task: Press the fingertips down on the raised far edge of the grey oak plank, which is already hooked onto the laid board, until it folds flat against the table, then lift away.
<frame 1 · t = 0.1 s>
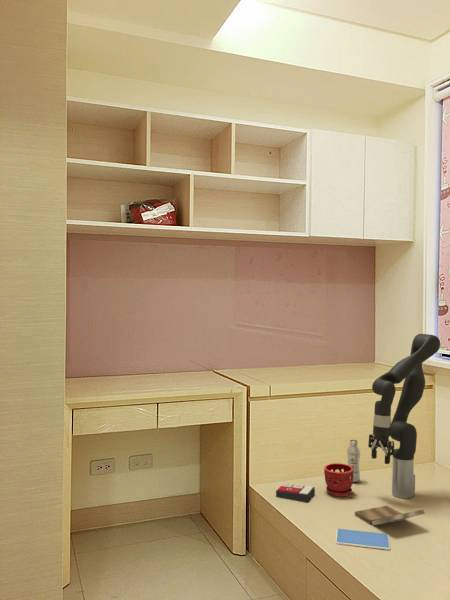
hand: (380, 461, 238), 17 cm above the table, tool pointing down, fingers open, 8 cm apart
plastic bottle: (353, 481, 261), on the table
laid board: (379, 516, 220), on the table
plant pot: (338, 493, 245), on the table
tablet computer: (362, 541, 199), on the table
multicoloured piece: (295, 496, 242), on the table
plank: (397, 517, 210), point 4 cm above the table, hinge at 30.0°
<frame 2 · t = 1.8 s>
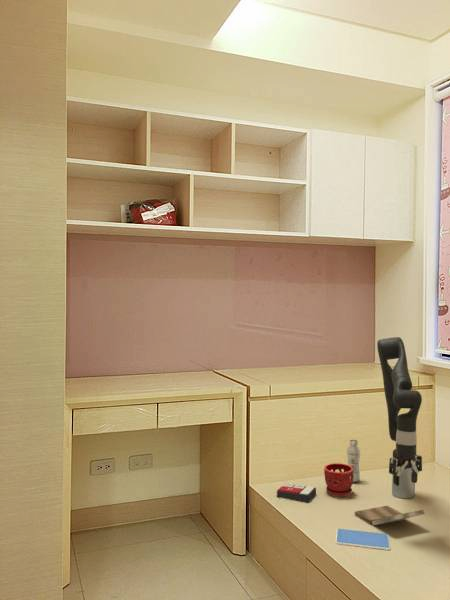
hand: (405, 483, 206), 19 cm above the table, tool pointing down, fingers open, 8 cm apart
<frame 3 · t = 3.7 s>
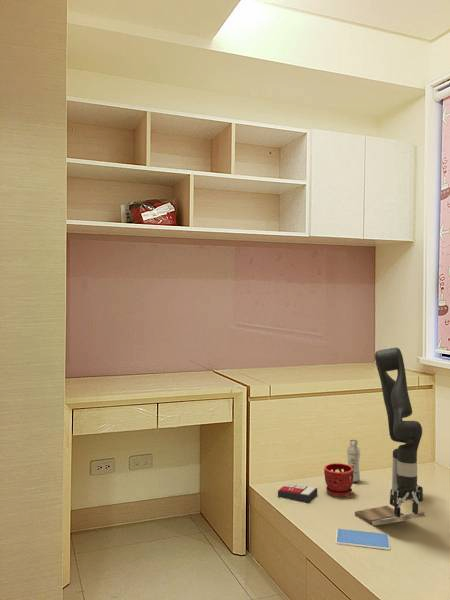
hand: (406, 514, 205), 7 cm above the table, tool pointing down
plank: (398, 518, 210), point 3 cm above the table, hinge at 25.9°, touching gripper
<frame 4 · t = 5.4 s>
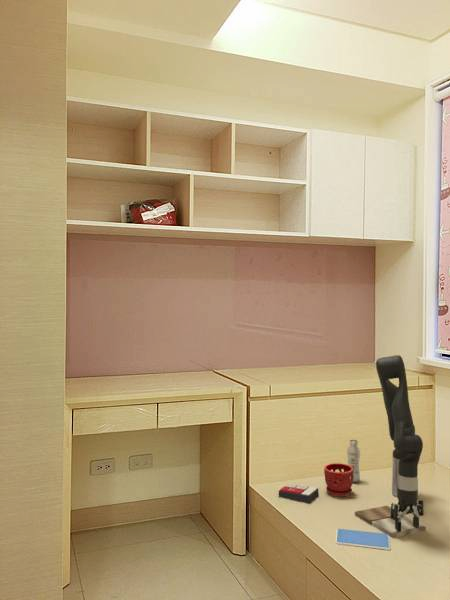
hand: (407, 529, 205), 2 cm above the table, tool pointing down, fingers open, 8 cm apart
plank: (398, 525, 209), point 1 cm above the table, hinge at -0.3°, touching gripper
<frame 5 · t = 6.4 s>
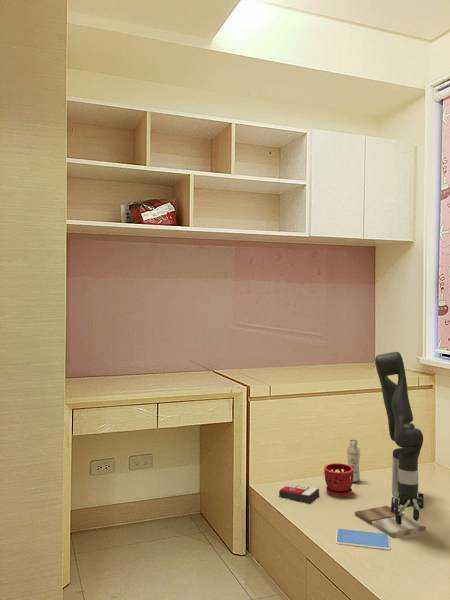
hand: (407, 522, 206), 4 cm above the table, tool pointing down, fingers open, 8 cm apart
plank: (398, 525, 209), point 1 cm above the table, hinge at -0.3°
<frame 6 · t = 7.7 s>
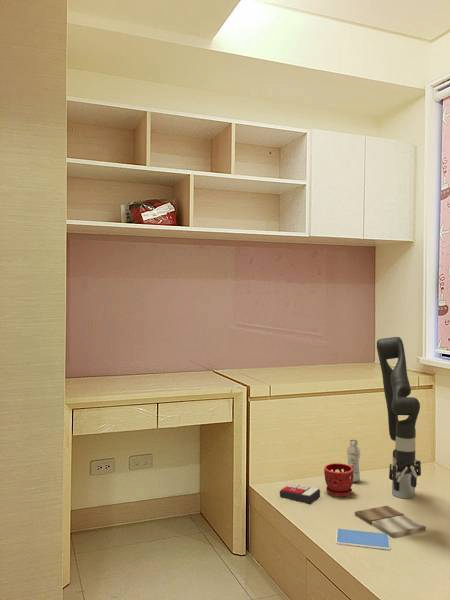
hand: (405, 488, 210), 15 cm above the table, tool pointing down, fingers open, 8 cm apart
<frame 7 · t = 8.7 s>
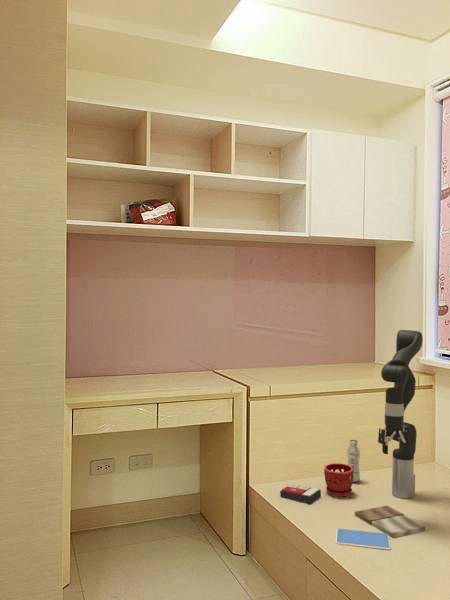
hand: (393, 452, 221), 26 cm above the table, tool pointing down, fingers open, 8 cm apart
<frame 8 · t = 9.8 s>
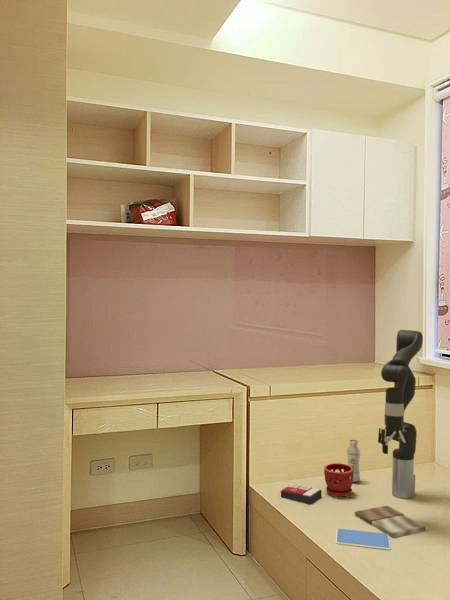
hand: (393, 452, 221), 26 cm above the table, tool pointing down, fingers open, 8 cm apart
at the end: plank at +0° (first picture: +30°); the gripper is holding nothing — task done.
